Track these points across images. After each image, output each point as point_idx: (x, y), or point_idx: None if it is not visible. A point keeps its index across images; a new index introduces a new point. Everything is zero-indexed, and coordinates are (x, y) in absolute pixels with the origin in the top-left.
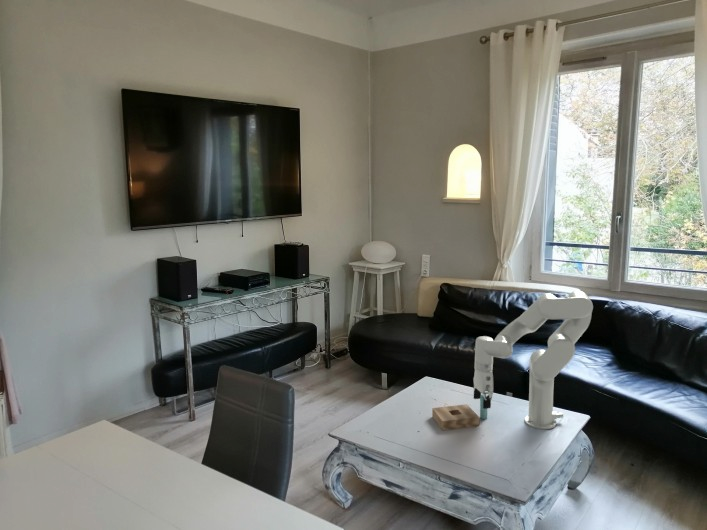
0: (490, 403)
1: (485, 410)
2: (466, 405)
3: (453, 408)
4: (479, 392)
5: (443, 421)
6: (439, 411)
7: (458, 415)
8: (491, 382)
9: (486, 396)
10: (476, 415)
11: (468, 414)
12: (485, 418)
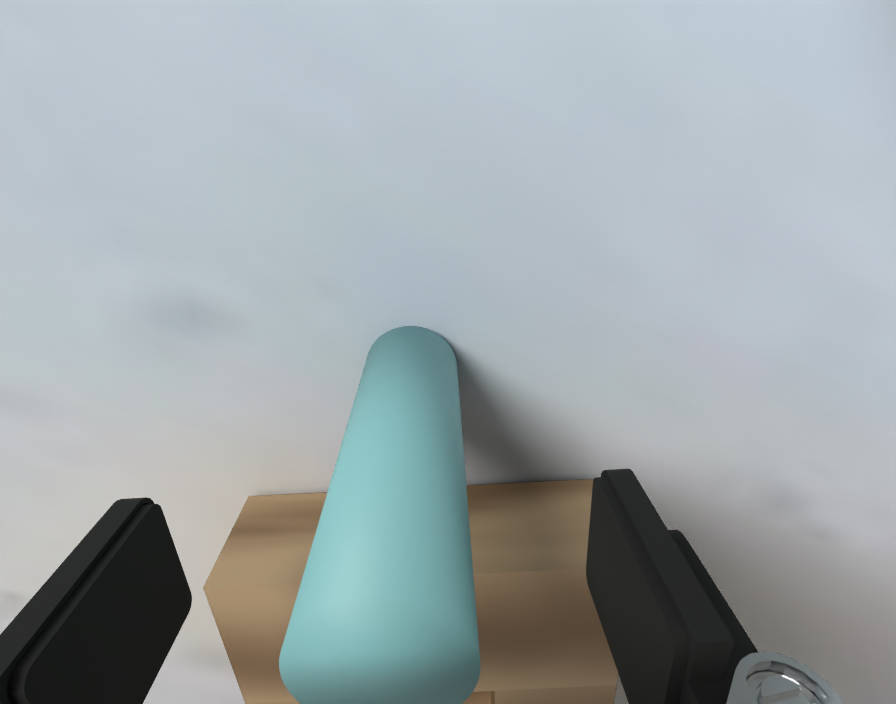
0: (670, 542)
1: (460, 431)
2: (246, 600)
3: None
4: (75, 657)
5: None
6: None
7: None
8: None
9: (427, 631)
10: (584, 581)
11: (524, 644)
12: (456, 365)
